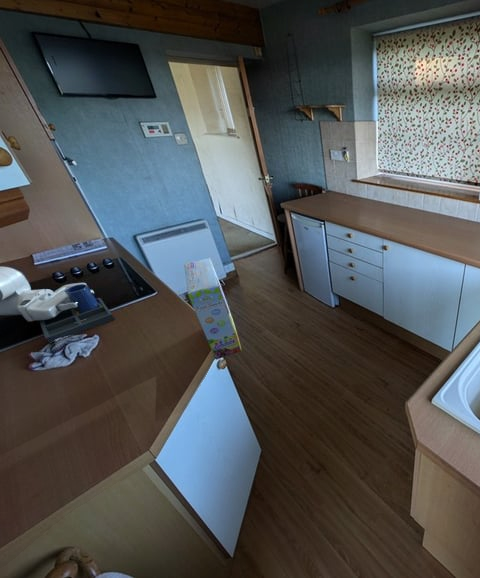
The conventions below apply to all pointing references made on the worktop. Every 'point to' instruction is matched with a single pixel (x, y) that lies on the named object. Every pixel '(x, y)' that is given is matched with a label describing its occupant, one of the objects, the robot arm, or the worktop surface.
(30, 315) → the robot arm
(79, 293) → the cup
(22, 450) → the worktop surface
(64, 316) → the grey divided tray
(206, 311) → the snack box
